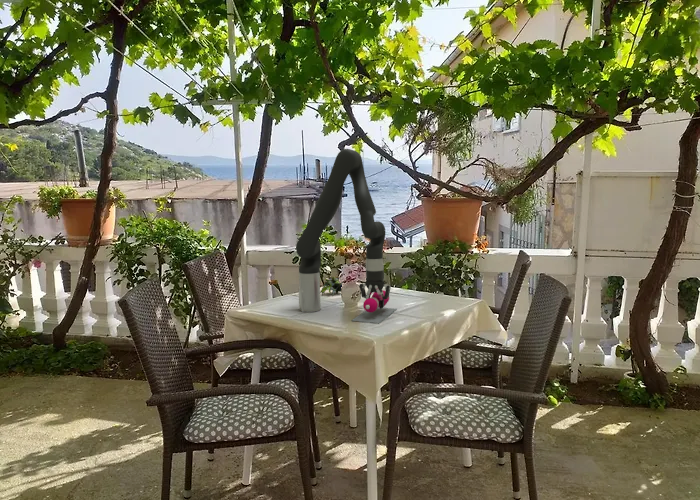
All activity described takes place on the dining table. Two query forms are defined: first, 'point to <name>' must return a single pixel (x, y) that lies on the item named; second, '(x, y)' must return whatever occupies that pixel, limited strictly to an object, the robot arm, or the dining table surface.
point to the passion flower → (332, 285)
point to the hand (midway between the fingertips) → (375, 307)
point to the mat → (375, 315)
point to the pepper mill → (374, 302)
